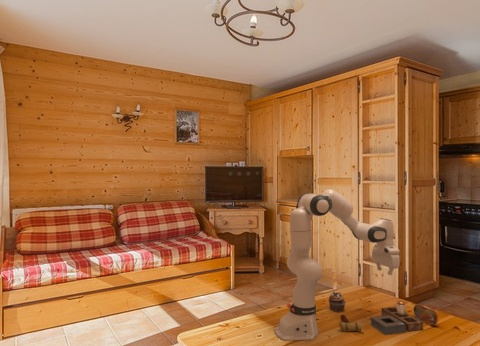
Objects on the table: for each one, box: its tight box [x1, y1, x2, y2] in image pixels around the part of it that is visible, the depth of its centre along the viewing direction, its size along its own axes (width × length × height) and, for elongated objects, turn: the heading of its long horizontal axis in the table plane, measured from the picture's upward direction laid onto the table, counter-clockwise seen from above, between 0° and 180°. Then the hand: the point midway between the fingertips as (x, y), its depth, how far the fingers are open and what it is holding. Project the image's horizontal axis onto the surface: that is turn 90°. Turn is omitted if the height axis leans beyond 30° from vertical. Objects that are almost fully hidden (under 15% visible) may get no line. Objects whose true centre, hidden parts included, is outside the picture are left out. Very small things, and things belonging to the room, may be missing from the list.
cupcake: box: [328, 291, 346, 313], centre depth 207 cm, size 10×10×10 cm
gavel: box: [339, 314, 362, 333], centre depth 187 cm, size 21×5×10 cm
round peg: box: [396, 300, 406, 317], centre depth 188 cm, size 4×4×11 cm
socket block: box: [370, 315, 407, 335], centre depth 181 cm, size 12×12×4 cm
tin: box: [413, 303, 439, 326], centre depth 188 cm, size 15×3×8 cm, turn 13°
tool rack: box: [381, 306, 424, 333], centre depth 188 cm, size 9×22×4 cm, turn 13°
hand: (384, 272), depth 192 cm, fingers open, 8 cm apart
